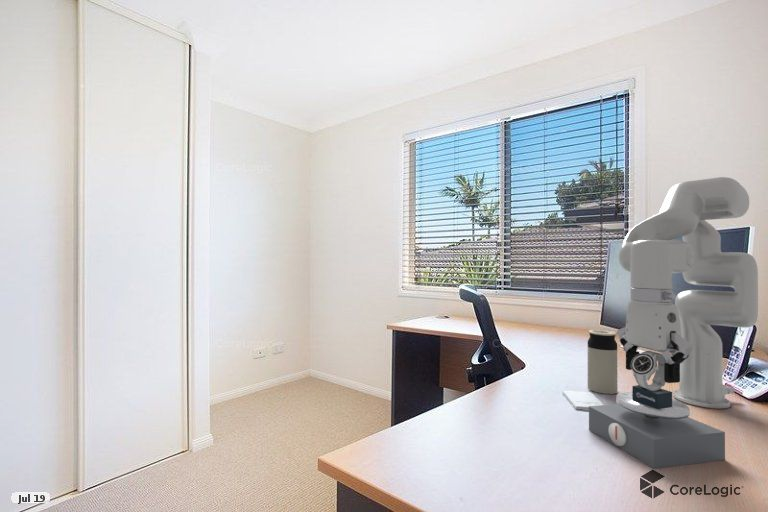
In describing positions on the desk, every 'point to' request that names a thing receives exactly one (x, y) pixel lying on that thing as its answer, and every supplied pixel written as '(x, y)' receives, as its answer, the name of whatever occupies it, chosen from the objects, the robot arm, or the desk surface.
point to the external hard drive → (581, 399)
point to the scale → (657, 437)
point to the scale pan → (672, 412)
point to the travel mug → (602, 362)
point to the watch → (642, 372)
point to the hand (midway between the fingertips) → (651, 375)
